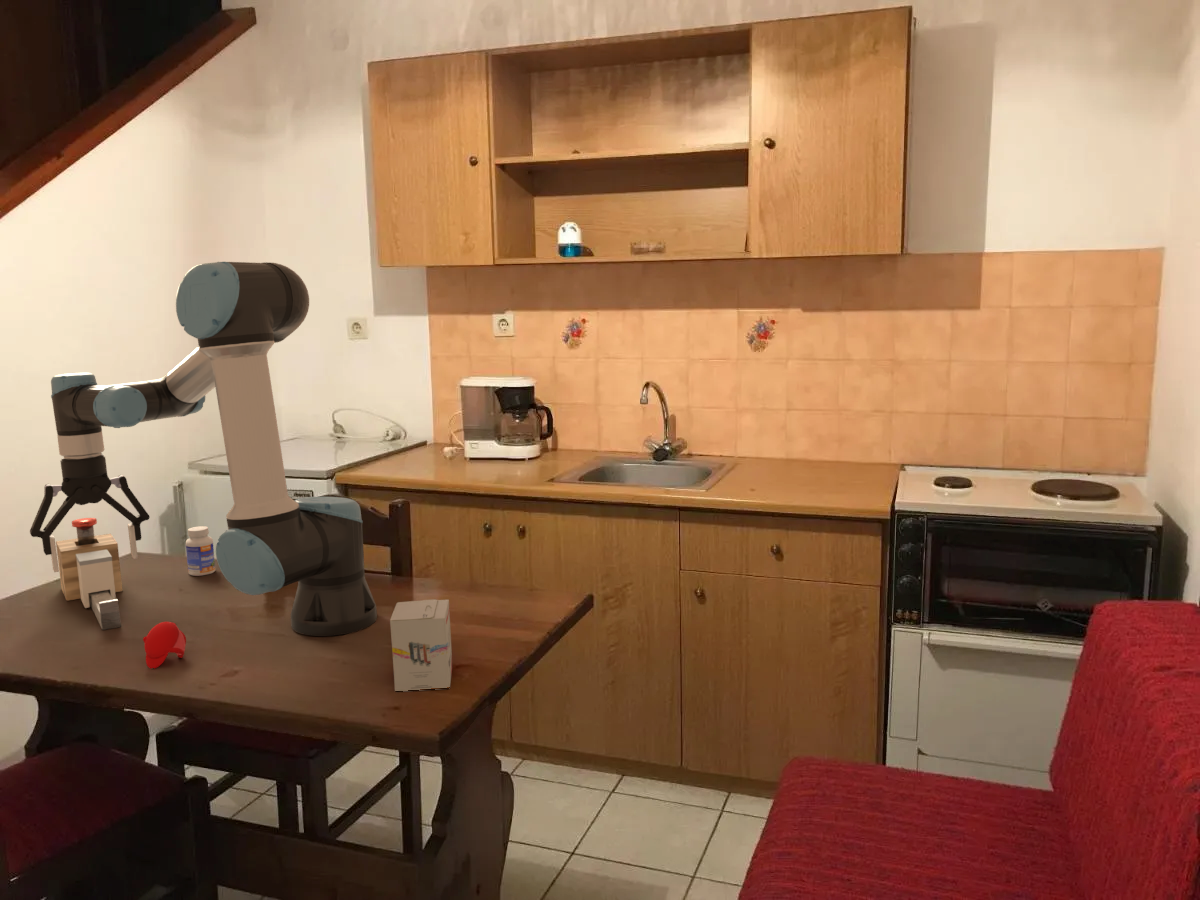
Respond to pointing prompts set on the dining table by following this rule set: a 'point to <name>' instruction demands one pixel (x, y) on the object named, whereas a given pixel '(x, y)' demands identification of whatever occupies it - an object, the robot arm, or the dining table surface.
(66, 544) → the wooden red button box
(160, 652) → the cap
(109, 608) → the rail
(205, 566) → the pill bottle
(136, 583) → the dining table surface
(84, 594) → the block
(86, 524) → the red push button
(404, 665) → the ink box
